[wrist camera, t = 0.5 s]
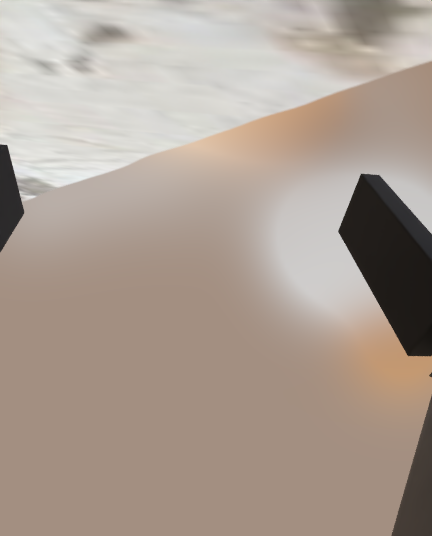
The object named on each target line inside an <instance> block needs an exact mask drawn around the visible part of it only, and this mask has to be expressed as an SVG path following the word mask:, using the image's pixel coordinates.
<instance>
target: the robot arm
mask: <svg viewBox="0 0 432 536" xmlns="http://www.w3.org/2000/svg"><path fill="white" fill-rule="evenodd" d="M23 214H24V209H23V205H22V202H21V198H20V194H19V190H18V186H17V182H16V178H15V174H14V170H13V166H12V162H11V158H10V154H9V150H8V146H7V145H0V252H1V250H2V249H3V247H4V245H5V244H6V242H7V241H8V239H9V237H10V236H11V234H12V232H13V231H14V229H15V227H16V226H17V224H18V222H19V221H20V219H21V218H22V216H23ZM338 232H339V234H340V235H341V237H342V239H343V241H344V243H345V244H346V246H347V248H348V250H349V251H350V253H351V255H352V257H353V259H354V260H355V262H356V264H357V266H358V267H359V269H360V271H361V273H362V275H363V277H364V278H365V280H366V282H367V284H368V285H369V287H370V289H371V291H372V292H373V294H374V296H375V298H376V300H377V302H378V303H379V305H380V307H381V309H382V310H383V312H384V314H385V316H386V318H387V319H388V321H389V323H390V325H391V326H392V328H393V330H394V332H395V334H396V335H397V337H398V339H399V341H400V343H401V344H402V346H403V348H404V350H405V351H406V353H407V355H408V356H432V234H431V233H430V232H429V231H428V230H427V228H426V227H425V226H424V225H423V224H422V223H421V222H420V221H419V220H418V218H417V217H416V216H415V215H414V214H413V213H412V212H411V210H410V209H409V208H408V207H407V206H406V205H405V204H404V203H403V201H402V200H401V199H400V198H399V197H398V196H397V195H396V194H395V192H394V191H393V190H392V189H391V188H390V187H389V186H388V185H387V183H386V182H385V181H384V180H383V179H382V178H381V177H380V176H379V175H370V174H361V175H360V178H359V181H358V183H357V185H356V188H355V190H354V193H353V195H352V198H351V201H350V203H349V206H348V208H347V211H346V213H345V216H344V218H343V221H342V223H341V226H340V228H339V231H338ZM429 376H430V377H432V373H431V374H430V375H429ZM392 536H432V397H431V400H430V403H429V407H428V410H427V414H426V417H425V421H424V424H423V428H422V431H421V435H420V438H419V442H418V445H417V449H416V452H415V456H414V459H413V463H412V466H411V470H410V473H409V477H408V480H407V484H406V487H405V490H404V494H403V497H402V501H401V504H400V508H399V511H398V515H397V518H396V522H395V525H394V529H393V532H392Z"/></svg>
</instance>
